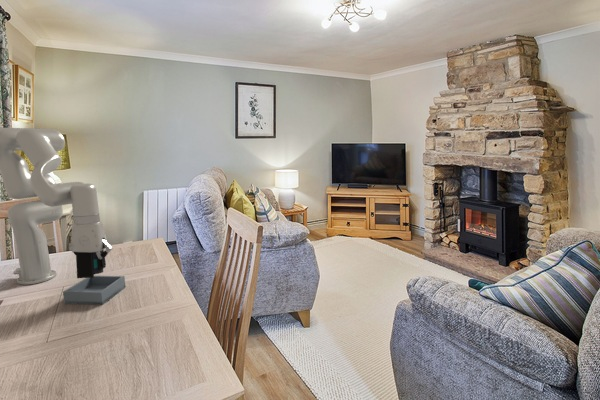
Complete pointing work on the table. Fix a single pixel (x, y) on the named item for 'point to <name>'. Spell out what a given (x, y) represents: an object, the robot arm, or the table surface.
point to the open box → (94, 290)
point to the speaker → (87, 265)
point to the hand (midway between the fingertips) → (93, 268)
